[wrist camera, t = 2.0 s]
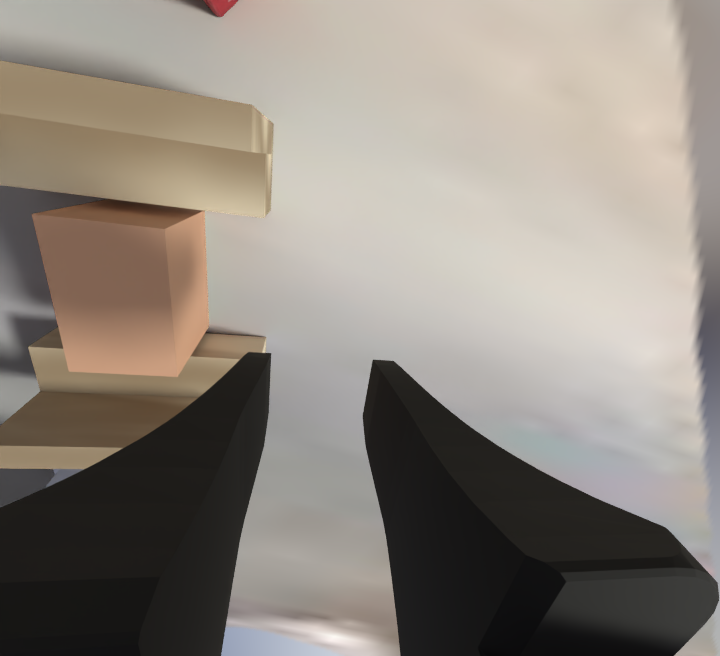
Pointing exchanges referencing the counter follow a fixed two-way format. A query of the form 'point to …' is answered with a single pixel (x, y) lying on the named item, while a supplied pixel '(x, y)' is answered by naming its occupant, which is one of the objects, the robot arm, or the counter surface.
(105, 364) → the terracotta block
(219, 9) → the ink box
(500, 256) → the counter surface
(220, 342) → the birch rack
